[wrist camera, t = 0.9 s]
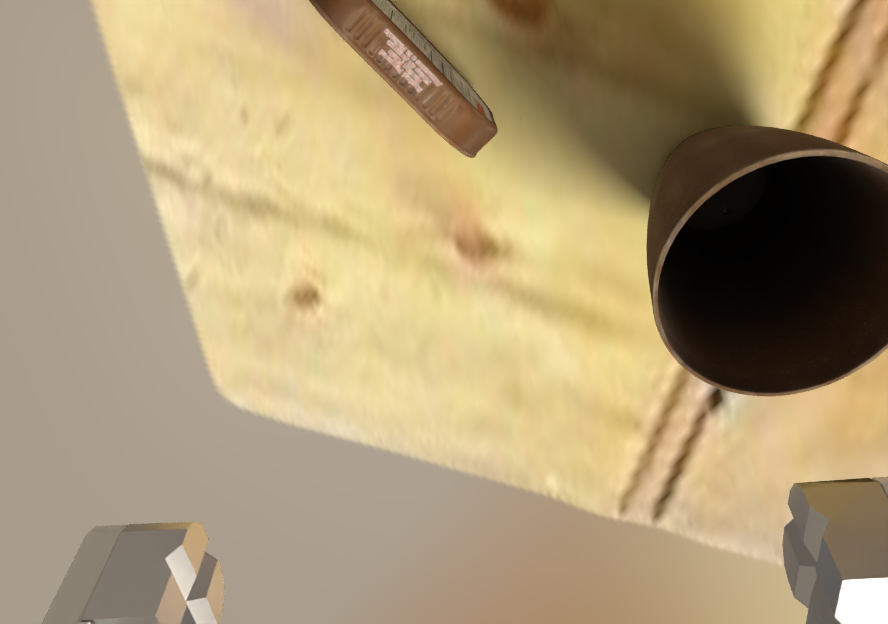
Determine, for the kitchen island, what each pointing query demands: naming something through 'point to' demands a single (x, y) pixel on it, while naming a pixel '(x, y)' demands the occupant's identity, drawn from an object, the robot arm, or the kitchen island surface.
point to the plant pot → (769, 259)
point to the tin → (413, 69)
